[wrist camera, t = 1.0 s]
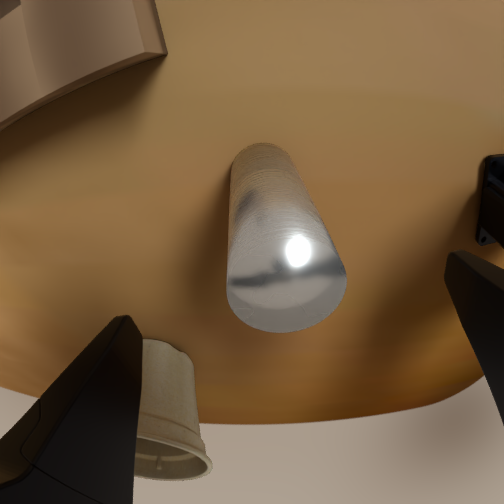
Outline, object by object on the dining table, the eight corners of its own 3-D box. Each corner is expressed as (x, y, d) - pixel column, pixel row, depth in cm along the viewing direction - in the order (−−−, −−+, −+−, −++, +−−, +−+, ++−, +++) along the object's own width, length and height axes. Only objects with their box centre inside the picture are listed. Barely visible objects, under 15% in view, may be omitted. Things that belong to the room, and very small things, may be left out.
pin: (288, 137, 15) (343, 227, 8) (298, 195, 17) (347, 320, 9) (224, 150, 15) (212, 254, 8) (238, 207, 17) (241, 341, 10)
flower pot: (235, 380, 26) (237, 476, 18) (146, 400, 27) (134, 482, 20) (172, 306, 21) (151, 424, 13) (78, 339, 22) (44, 432, 15)
